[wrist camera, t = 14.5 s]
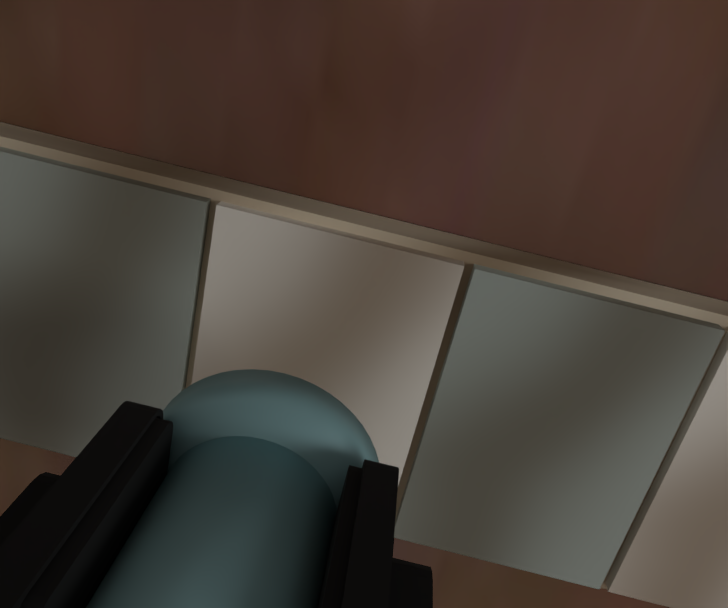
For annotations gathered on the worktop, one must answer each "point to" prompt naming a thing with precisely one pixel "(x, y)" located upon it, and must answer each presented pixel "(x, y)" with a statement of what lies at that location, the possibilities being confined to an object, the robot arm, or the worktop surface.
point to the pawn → (241, 498)
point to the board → (380, 358)
